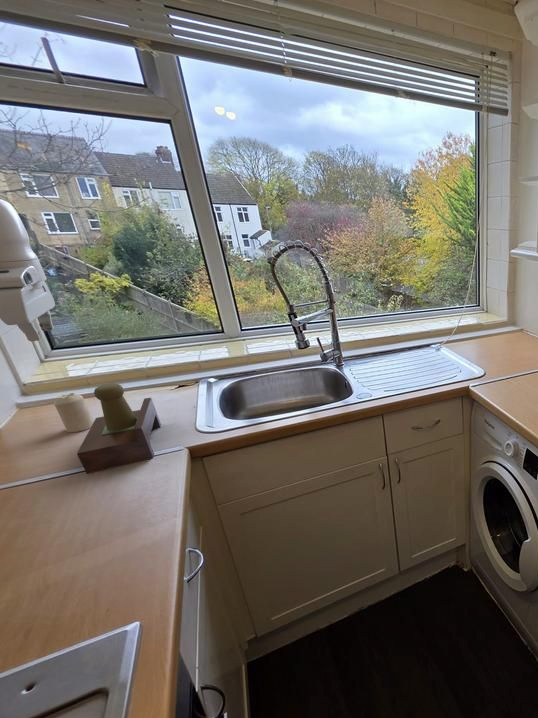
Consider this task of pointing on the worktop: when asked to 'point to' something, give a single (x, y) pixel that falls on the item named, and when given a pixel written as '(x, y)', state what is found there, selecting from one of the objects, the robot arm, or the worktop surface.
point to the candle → (73, 412)
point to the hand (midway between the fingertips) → (42, 335)
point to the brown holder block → (119, 441)
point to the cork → (115, 407)
